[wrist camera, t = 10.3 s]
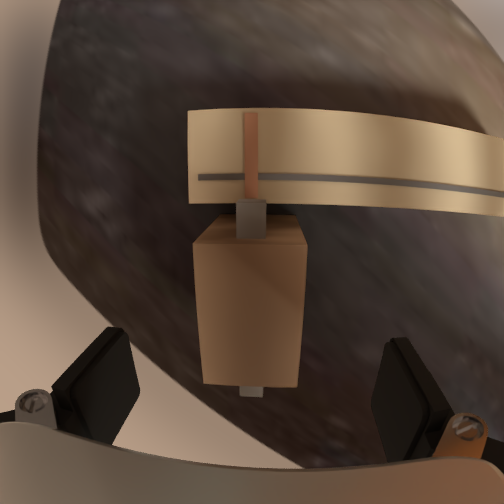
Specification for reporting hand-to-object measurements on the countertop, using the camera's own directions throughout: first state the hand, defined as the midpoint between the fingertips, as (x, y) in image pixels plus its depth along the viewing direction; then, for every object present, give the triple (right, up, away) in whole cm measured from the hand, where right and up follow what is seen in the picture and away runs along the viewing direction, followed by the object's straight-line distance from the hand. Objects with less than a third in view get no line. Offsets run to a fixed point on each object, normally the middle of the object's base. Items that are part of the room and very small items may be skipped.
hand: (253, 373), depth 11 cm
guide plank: (+7, +10, +7) cm, 14 cm away
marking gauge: (0, +3, +10) cm, 10 cm away
